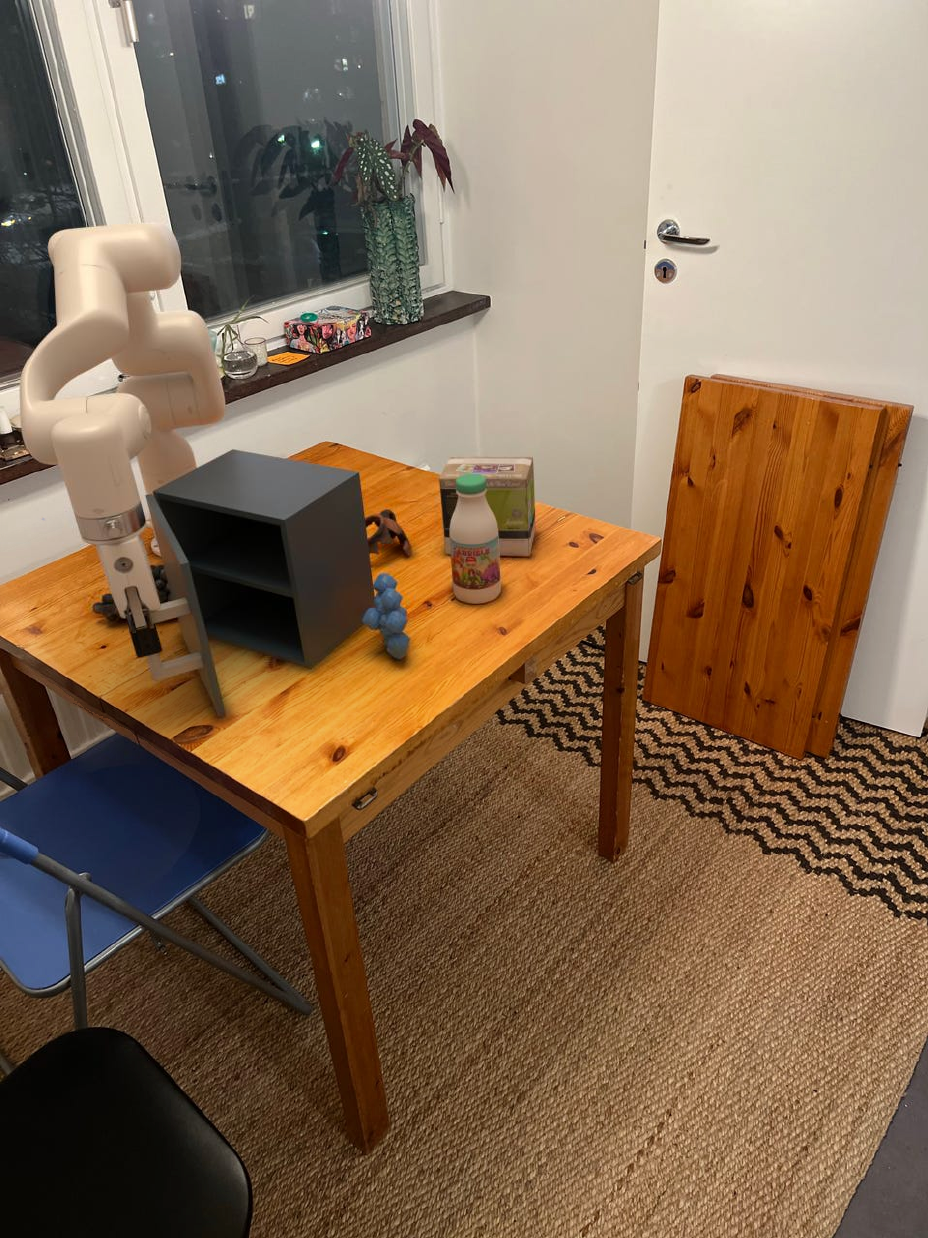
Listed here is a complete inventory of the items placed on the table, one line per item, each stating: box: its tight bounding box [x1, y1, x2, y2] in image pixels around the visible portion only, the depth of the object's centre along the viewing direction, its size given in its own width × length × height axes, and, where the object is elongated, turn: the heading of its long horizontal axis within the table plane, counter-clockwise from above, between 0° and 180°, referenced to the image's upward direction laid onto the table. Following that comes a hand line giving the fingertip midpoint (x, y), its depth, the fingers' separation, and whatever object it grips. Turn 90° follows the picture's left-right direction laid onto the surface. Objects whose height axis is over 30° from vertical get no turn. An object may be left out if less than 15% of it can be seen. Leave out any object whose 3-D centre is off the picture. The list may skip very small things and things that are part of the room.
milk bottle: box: [450, 473, 502, 605], centre depth 142 cm, size 8×8×20 cm
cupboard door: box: [143, 494, 227, 719], centre depth 125 cm, size 8×24×24 cm, turn 27°
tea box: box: [438, 456, 536, 557], centre depth 158 cm, size 15×10×15 cm, turn 80°
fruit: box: [91, 564, 173, 623], centre depth 146 cm, size 9×8×15 cm
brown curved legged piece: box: [365, 508, 413, 558], centre depth 161 cm, size 12×10×8 cm
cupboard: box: [153, 448, 376, 670], centre depth 137 cm, size 17×24×24 cm
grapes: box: [362, 573, 411, 660], centre depth 132 cm, size 12×7×12 cm, turn 16°
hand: (148, 648), depth 117 cm, fingers closed on cupboard door
